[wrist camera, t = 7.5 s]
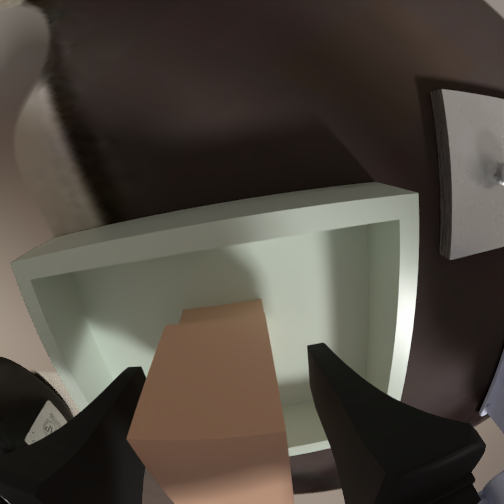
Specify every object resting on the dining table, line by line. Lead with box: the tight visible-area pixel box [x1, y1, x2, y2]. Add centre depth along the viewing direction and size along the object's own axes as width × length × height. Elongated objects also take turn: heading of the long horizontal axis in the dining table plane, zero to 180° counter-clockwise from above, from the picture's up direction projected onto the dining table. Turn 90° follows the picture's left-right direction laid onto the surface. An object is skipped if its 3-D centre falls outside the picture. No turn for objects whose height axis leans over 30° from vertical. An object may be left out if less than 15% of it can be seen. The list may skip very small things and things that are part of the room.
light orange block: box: [127, 299, 294, 504], centre depth 10 cm, size 3×5×8 cm, turn 8°
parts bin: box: [11, 182, 419, 456], centre depth 12 cm, size 12×15×4 cm
